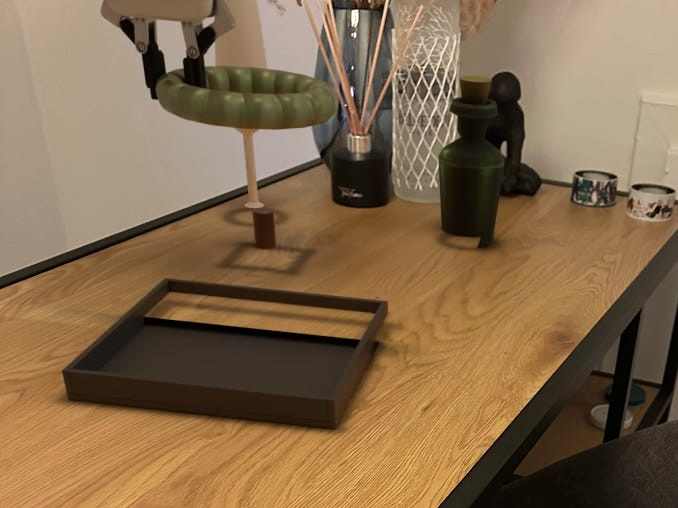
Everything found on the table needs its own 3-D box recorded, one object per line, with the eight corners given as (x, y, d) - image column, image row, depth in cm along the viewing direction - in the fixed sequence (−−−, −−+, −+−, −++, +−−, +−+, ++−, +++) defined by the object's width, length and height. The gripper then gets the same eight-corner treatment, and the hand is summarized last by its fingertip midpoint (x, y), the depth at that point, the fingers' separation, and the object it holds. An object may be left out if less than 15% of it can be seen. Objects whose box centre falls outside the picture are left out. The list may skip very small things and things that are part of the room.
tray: (68, 399, 80) (61, 370, 78) (168, 302, 97) (164, 277, 96) (335, 429, 79) (334, 400, 77) (388, 326, 96) (388, 300, 95)
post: (222, 266, 107) (216, 217, 104) (244, 244, 113) (239, 197, 110) (291, 273, 107) (287, 224, 103) (309, 251, 113) (306, 204, 109)
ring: (131, 119, 90) (127, 84, 88) (190, 89, 104) (187, 57, 102) (317, 140, 90) (316, 104, 88) (351, 106, 104) (351, 75, 102)
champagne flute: (286, 211, 124) (272, -7, 109) (273, 226, 119) (256, -1, 104) (237, 207, 124) (215, -12, 109) (221, 222, 119) (196, -6, 104)
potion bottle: (503, 235, 122) (515, 76, 111) (493, 254, 116) (504, 88, 104) (442, 227, 123) (448, 69, 111) (429, 246, 117) (433, 81, 105)
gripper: (43, -139, 83) (85, 98, 94) (225, -123, 82) (245, 114, 94) (80, -138, 88) (115, 85, 100) (251, -123, 88) (266, 100, 99)
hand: (177, 97), depth 97 cm, fingers closed on ring, 3 cm apart
